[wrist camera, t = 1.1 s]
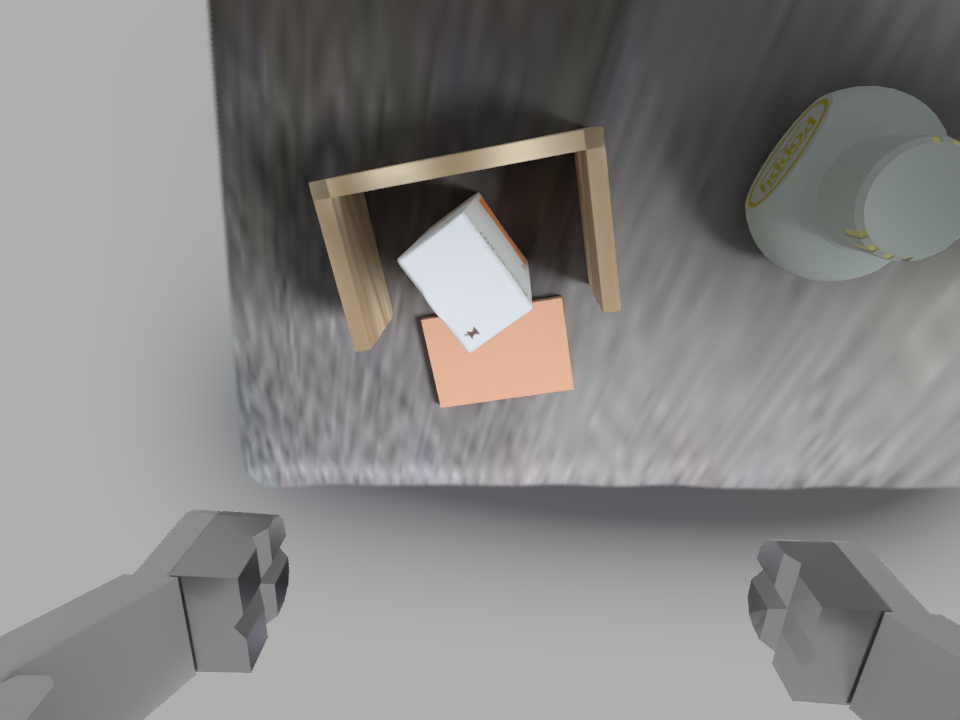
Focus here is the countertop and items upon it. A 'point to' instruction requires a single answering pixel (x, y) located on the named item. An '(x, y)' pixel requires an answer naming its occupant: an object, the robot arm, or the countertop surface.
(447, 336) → the tile
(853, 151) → the air freshener
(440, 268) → the skincare box
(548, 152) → the open wooden frame
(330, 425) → the countertop surface
